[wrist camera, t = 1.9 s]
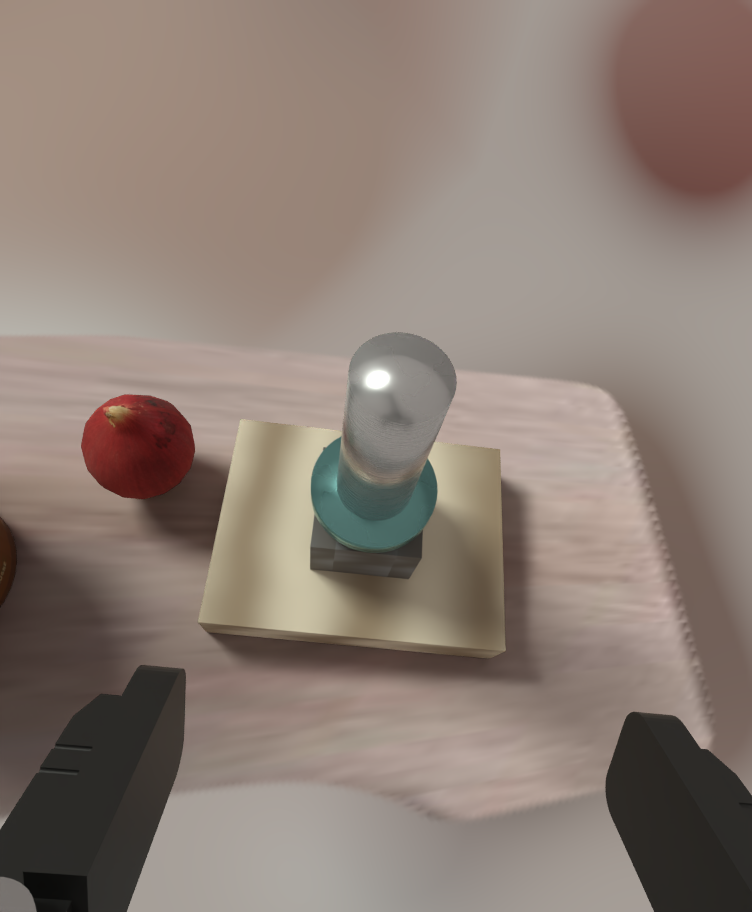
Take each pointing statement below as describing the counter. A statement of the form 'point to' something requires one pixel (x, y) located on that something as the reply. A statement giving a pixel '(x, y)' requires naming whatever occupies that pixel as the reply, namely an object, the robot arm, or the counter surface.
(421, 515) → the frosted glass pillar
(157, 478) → the onion
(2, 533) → the food container
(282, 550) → the wooden base with socket
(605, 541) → the counter surface
